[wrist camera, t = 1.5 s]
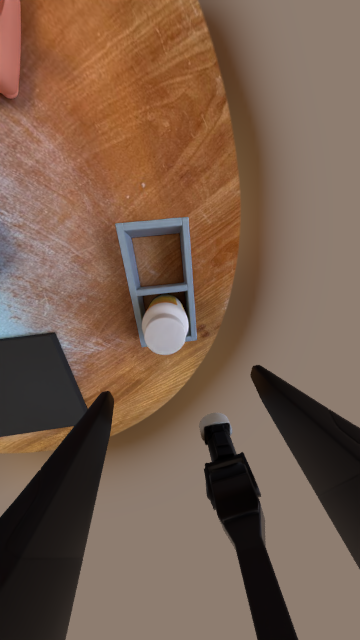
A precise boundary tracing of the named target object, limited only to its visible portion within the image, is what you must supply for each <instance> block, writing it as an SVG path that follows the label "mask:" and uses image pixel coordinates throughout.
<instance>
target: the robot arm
mask: <svg viewBox="0 0 360 640" xmlns="http://www.w3.org/2000/svg"><path fill="white" fill-rule="evenodd" d="M251 378H252V381H253V383H254V385H255V387H256V389H257V391H258V393H259V396H260V398H261V400H262V402H263V404H264V405H265V407H266V409H267V410H268V412H269V414H270V416H271V417H272V419H273V421H274V423H275V424H276V426H277V428H278V429H279V431H280V433H281V435H282V436H283V438H284V440H285V442H286V443H287V445H288V447H289V448H290V450H291V452H292V453H293V455H294V457H295V459H296V460H297V462H298V464H299V465H300V467H301V469H302V470H303V472H304V474H305V476H306V478H307V479H308V481H309V483H310V484H311V486H312V488H313V490H314V491H315V493H316V495H317V496H318V498H319V500H320V502H321V503H322V505H323V507H324V509H325V510H326V512H327V514H328V516H329V517H330V519H331V521H332V522H333V524H334V526H335V528H336V529H337V531H338V533H339V534H340V536H341V538H342V540H343V541H344V543H345V544H346V546H347V548H348V550H349V552H350V553H351V555H352V557H353V558H354V560H355V562H356V564H357V565H358V567H359V569H360V428H359V427H357V426H355V425H353V424H352V423H351V422H349V421H347V420H346V419H344V418H342V417H341V416H339V415H337V414H336V413H334V412H333V411H331V410H329V409H328V408H326V407H325V406H323V405H322V404H320V403H318V402H317V401H315V400H314V399H312V398H310V397H309V396H308V395H306V394H304V393H303V392H301V391H299V390H298V389H296V388H295V387H293V386H292V385H290V384H289V383H287V382H286V381H284V380H282V379H281V378H279V377H278V376H276V375H275V374H273V373H271V372H270V371H268V370H267V369H265V368H264V367H262V366H260V365H256V366H253V367H252V371H251ZM113 407H114V398H113V396H112V395H111V393H110V391H105V392H102V393H101V394H100V395H99V396H98V397H97V399H96V400H95V401H94V402H93V404H92V405H91V406H90V407H89V409H88V410H87V411H86V412H85V414H84V415H83V416H82V417H81V419H80V420H79V421H78V422H77V424H76V425H75V426H74V427H73V429H72V430H71V431H70V432H69V434H68V435H67V436H66V437H65V439H64V440H63V441H62V442H61V444H60V445H59V446H58V447H57V449H56V450H55V451H54V453H53V454H52V455H51V456H50V457H49V459H48V460H47V461H46V462H45V464H44V465H43V466H42V467H41V470H39V471H38V472H37V474H36V475H35V476H34V477H33V479H32V480H31V481H30V483H29V484H28V485H27V486H26V488H25V489H24V490H23V491H22V492H21V493H20V495H19V496H18V497H17V498H16V499H15V501H14V502H13V503H12V504H11V505H10V506H9V508H8V509H7V510H6V511H5V512H4V513H3V515H2V516H1V517H0V640H65V639H66V634H67V630H68V625H69V621H70V616H71V611H72V606H73V602H74V597H75V593H76V588H77V584H78V579H79V575H80V570H81V565H82V561H83V556H84V551H85V547H86V542H87V537H88V533H89V528H90V523H91V519H92V515H93V510H94V505H95V501H96V496H97V491H98V487H99V482H100V478H101V473H102V469H103V464H104V460H105V455H106V450H107V446H108V441H109V437H110V432H111V424H112V416H113ZM204 441H205V445H208V447H209V452H210V456H211V460H212V462H210V463H206V464H205V469H204V472H205V478H206V491H207V497H208V499H209V500H210V501H211V504H212V506H213V509H214V510H216V511H217V515H218V518H219V520H220V522H221V524H222V527H223V529H224V531H225V533H226V535H227V536H228V538H229V539H230V541H231V543H232V544H233V546H234V548H235V549H236V552H237V556H238V560H239V564H240V569H241V573H242V577H243V581H244V585H245V589H246V594H247V598H248V602H249V606H250V610H251V614H252V619H253V623H254V627H255V631H256V635H257V639H258V640H298V638H297V635H296V632H295V630H294V627H293V624H292V621H291V618H290V615H289V612H288V610H287V607H286V604H285V601H284V598H283V595H282V593H281V590H280V587H279V584H278V581H277V579H276V576H275V573H274V570H273V567H272V564H271V562H270V559H269V556H268V553H267V550H266V548H265V519H264V515H263V511H262V508H261V504H260V501H259V499H258V497H261V494H260V491H259V488H258V486H257V483H256V481H255V478H254V476H253V474H252V471H251V469H250V467H249V464H248V462H247V460H246V458H245V456H244V453H243V452H242V453H240V454H236V451H235V449H234V446H233V443H232V441H231V438H230V424H229V423H222V424H216V425H209V426H204Z"/></svg>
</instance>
